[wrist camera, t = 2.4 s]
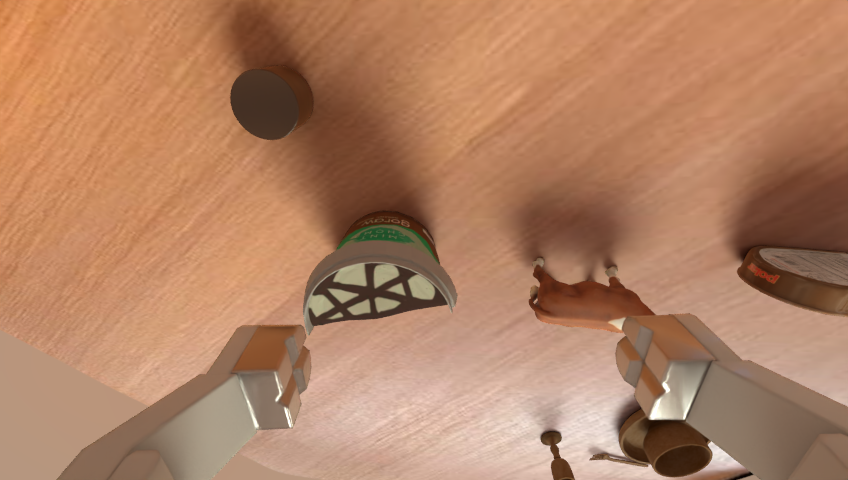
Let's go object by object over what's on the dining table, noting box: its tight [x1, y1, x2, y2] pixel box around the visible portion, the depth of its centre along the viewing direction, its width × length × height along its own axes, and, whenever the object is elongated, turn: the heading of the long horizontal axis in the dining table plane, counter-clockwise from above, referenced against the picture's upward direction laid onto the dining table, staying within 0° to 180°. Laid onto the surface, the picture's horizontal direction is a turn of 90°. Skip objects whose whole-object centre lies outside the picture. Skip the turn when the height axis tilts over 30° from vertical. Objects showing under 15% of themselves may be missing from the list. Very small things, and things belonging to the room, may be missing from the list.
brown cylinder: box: [230, 65, 313, 140], centre depth 28 cm, size 5×5×4 cm
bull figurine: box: [529, 258, 655, 333], centre depth 34 cm, size 4×13×8 cm, turn 77°
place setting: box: [541, 409, 712, 480], centre depth 46 cm, size 18×20×6 cm
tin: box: [737, 246, 848, 317], centre depth 33 cm, size 15×3×8 cm, turn 85°
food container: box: [303, 211, 457, 335], centre depth 31 cm, size 12×6×10 cm, turn 101°
